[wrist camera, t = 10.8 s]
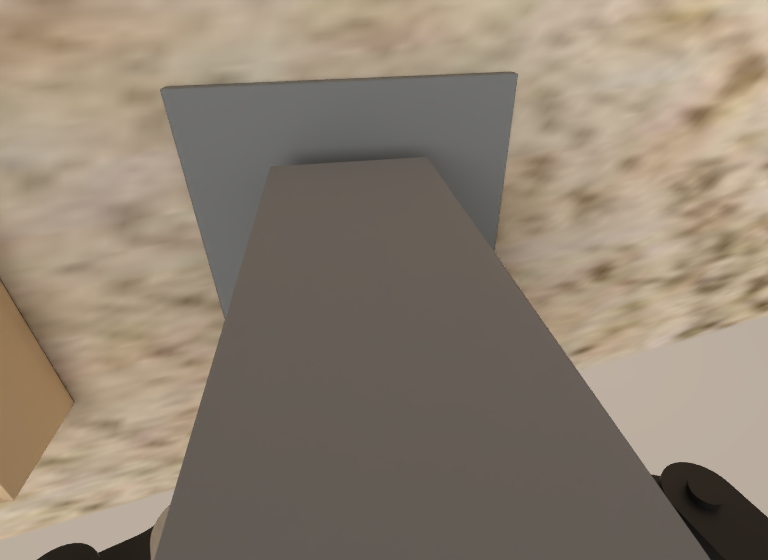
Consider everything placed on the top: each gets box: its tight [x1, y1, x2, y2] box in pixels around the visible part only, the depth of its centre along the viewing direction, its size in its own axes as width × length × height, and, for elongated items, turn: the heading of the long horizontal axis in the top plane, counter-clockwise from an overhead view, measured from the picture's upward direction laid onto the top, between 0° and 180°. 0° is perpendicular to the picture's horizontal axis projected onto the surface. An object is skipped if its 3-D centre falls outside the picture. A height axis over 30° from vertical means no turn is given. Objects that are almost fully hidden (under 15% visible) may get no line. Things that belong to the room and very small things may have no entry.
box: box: [154, 157, 711, 560], centre depth 10 cm, size 8×5×14 cm, turn 1°
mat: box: [160, 72, 518, 319], centre depth 18 cm, size 12×12×1 cm
